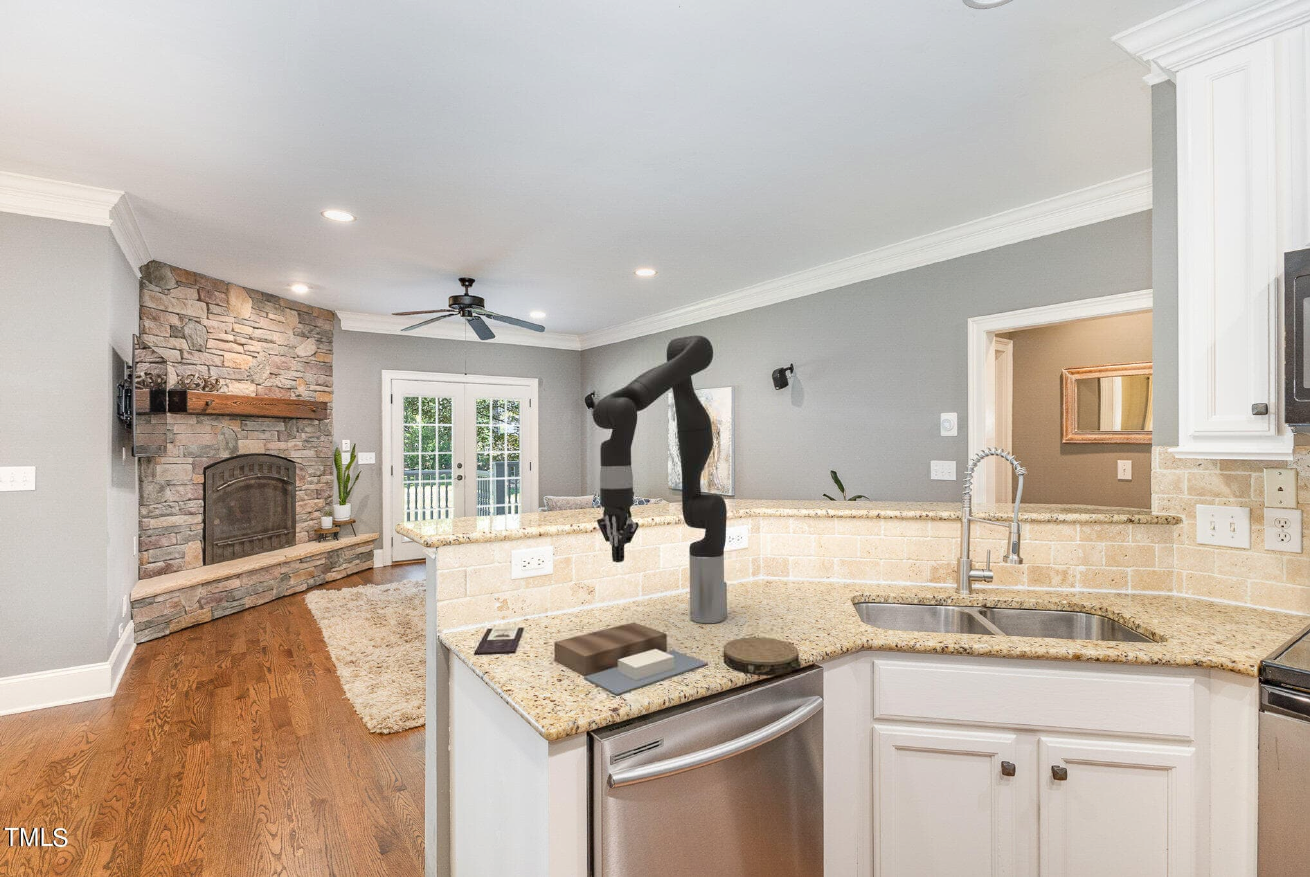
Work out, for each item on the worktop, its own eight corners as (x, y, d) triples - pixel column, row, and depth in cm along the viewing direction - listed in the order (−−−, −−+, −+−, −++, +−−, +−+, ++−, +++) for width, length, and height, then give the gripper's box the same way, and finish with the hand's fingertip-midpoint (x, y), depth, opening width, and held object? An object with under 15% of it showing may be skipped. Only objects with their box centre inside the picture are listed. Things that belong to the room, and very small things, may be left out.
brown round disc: (814, 664, 129) (813, 650, 129) (765, 683, 119) (764, 668, 119) (756, 645, 142) (756, 632, 142) (708, 661, 132) (707, 647, 132)
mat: (673, 651, 137) (673, 649, 137) (707, 664, 129) (707, 663, 129) (583, 678, 121) (583, 676, 121) (616, 695, 113) (616, 693, 113)
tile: (674, 656, 126) (674, 668, 126) (655, 648, 130) (655, 660, 130) (635, 667, 119) (635, 680, 119) (617, 659, 124) (617, 671, 124)
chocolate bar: (474, 652, 136) (487, 628, 154) (474, 657, 136) (487, 632, 154) (515, 651, 137) (523, 627, 155) (515, 655, 137) (523, 631, 155)
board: (633, 638, 146) (633, 622, 146) (666, 651, 137) (666, 633, 137) (554, 660, 132) (554, 641, 132) (585, 676, 123) (585, 656, 123)
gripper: (648, 486, 136) (649, 563, 136) (611, 483, 146) (613, 555, 146) (621, 488, 131) (623, 568, 131) (586, 485, 141) (587, 560, 141)
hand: (618, 561), depth 138 cm, fingers closed
